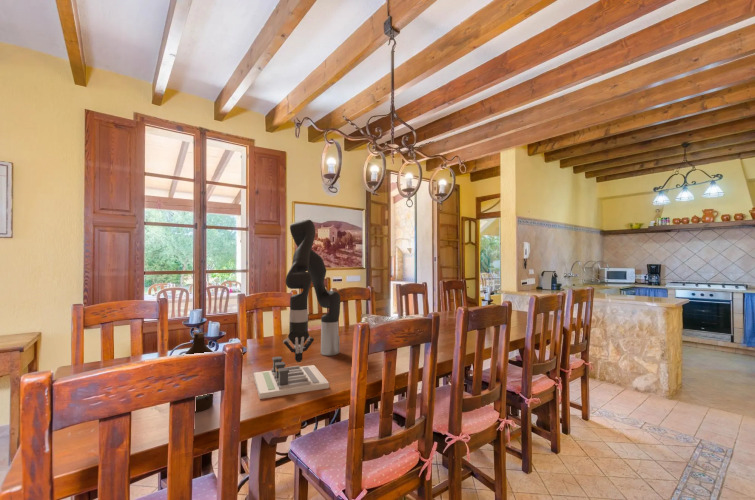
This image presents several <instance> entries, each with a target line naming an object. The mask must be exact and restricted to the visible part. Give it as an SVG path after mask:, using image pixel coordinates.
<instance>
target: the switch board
mask: <svg viewBox="0 0 755 500" xmlns="http://www.w3.org/2000/svg"><path fill="white" fill-rule="evenodd" d="M271 358H272V359H271V360H272V362H273V363H272V368H271V369H270V370H266V371H265V370H264V371H256V372H253V378H254V379H253V381H254V382H255V383H254V384H255V387H256V391H257V395H258V398H259V400H261V399H269V398H273V397H274V398H276V397H281V396H287V395H294V394H299V393H301V394H302V393H306V392H314V391H319V390H325V389H329V388H330V382H329V381H328V380H327V379H326V377H325V376H324V375H323V374H322V373H321V372H320V370H319V369H318V368H317V367H316V366H315V365H314V364H311V365H303V366H300V365H293V366H284V368H279V369H278V372H279V378H278V379H276V369H275V367H276V366H275V363H276V362H283V357H282V356H273V357H271Z"/></svg>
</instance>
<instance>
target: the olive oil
mask: <svg viewBox="0 0 755 500" xmlns="http://www.w3.org/2000/svg"><path fill="white" fill-rule="evenodd" d="M192 341H193V343H192V346H191V347H190V348H189V349H188V350H187V351H186V352H185V353H184V354H194V353H204V352H213V350H212V349H211V348H209V347H208V346H207V345H206V344H205V332H195V333H193V340H192ZM213 353H214V352H213ZM213 402H214V393H213V394H207V395H203V396H198V397H196V412H195V413H199V412H203V411H206V410H208V409H209V408H211V407H212V406H213Z"/></svg>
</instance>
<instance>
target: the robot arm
mask: <svg viewBox="0 0 755 500" xmlns="http://www.w3.org/2000/svg"><path fill="white" fill-rule="evenodd" d="M289 230H290V235H291V237H292V239H293V241H294V243H295V245H296V247H297V248H296V249H295V251H294V252H293V257H292V264H291V266H290V269H289V271H288V272H287V275H286V277H285V284H286V285H285V286H286V287H287V288H289V290H301V289H302V291H301V292H300V293H297V294H295V293H294V294H293V295H291V296H290V299H289V305H290V306H289V322H288V323H289V328H288V332H289V333H288V335H287V338H285V339H284V340H282V342H283V344H284V345H285V347H287V349H288V350H289V351H290V353H294V360H295V361H296V363H301V362H302V361H303V353H304V352H306V351H308V349H309V348H310V347H311V345H312V344H313V342H314V340H315V339H314V338H313V337H312V336H310V333H309V322H308V321H309V311H308V298H309V292H310V289H311V286H312V285H313V286H312V287H313V288H314V293H315V296H316V299H317V300H316V301H317V302H318V305H319V306H320V307H321V308H324V309H328V312H327V313H326V314H323V315H321V319H320V327H321V328H320V354H321V355H322V356H335V355H339V354H340V339H341V338H340V335H339V318H340V313H341V295H340V293H339V292H338V291H334V290H327V289H326V286H325V278H326V274H327V267H326V265H325V261H324V260H323V258H322V257H321V256H320V255H319V254H318V253H317V252H315V251H314V250H313V249H312V247H313V244H314V240H315V236H316V227H315V224H314V222H313V221H312V219H304V220H301V221H300V220H299V221H295V222H292V223H291V224H290V225H289ZM290 343H291V344H293V346H291V344H290Z"/></svg>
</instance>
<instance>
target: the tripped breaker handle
mask: <svg viewBox="0 0 755 500" xmlns="http://www.w3.org/2000/svg"><path fill="white" fill-rule="evenodd" d="M275 366H276V367H275V369H276V379H278V378H279V372H278V369H279V368H284V367H286V363H285V361H281V362H276V363H275Z"/></svg>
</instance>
